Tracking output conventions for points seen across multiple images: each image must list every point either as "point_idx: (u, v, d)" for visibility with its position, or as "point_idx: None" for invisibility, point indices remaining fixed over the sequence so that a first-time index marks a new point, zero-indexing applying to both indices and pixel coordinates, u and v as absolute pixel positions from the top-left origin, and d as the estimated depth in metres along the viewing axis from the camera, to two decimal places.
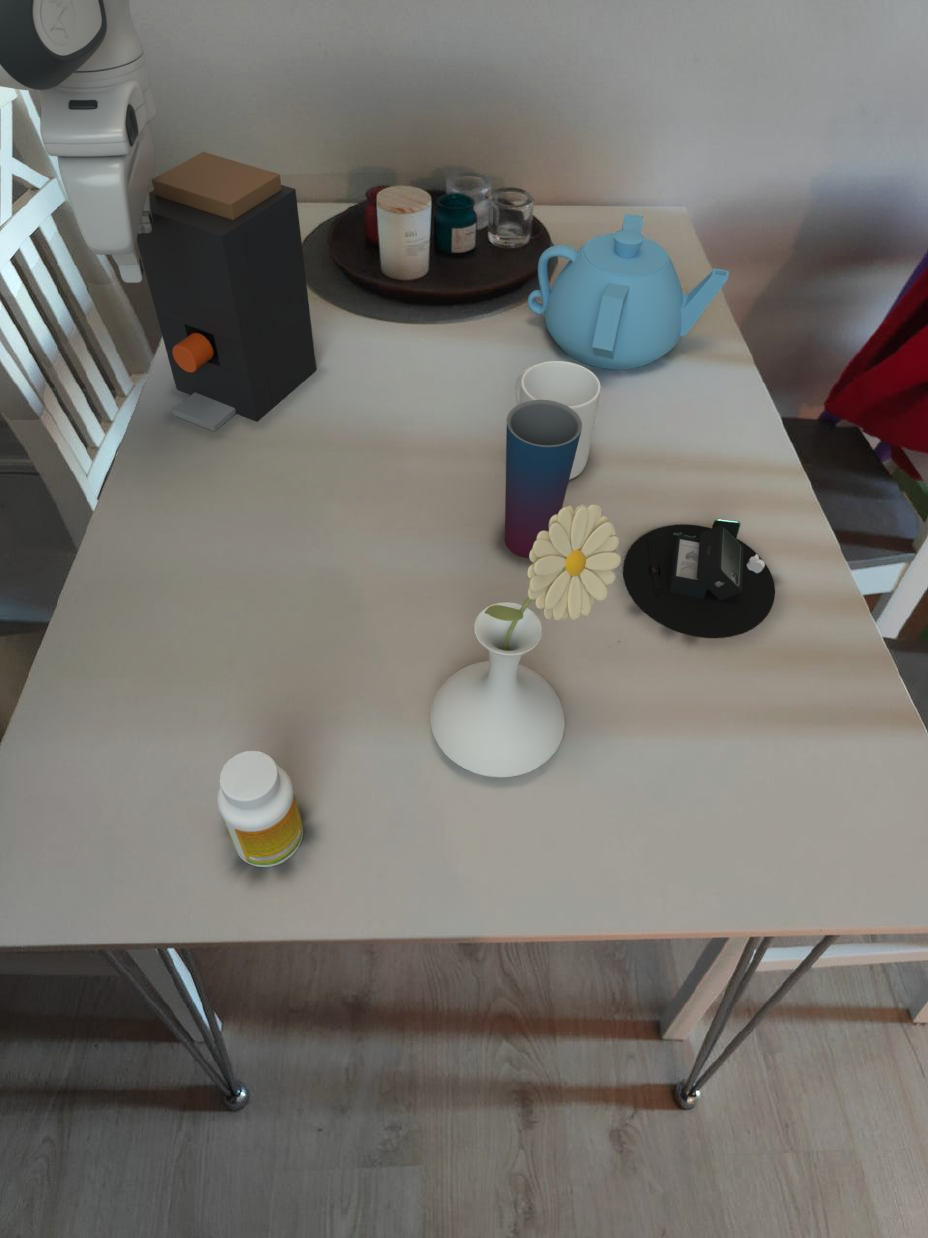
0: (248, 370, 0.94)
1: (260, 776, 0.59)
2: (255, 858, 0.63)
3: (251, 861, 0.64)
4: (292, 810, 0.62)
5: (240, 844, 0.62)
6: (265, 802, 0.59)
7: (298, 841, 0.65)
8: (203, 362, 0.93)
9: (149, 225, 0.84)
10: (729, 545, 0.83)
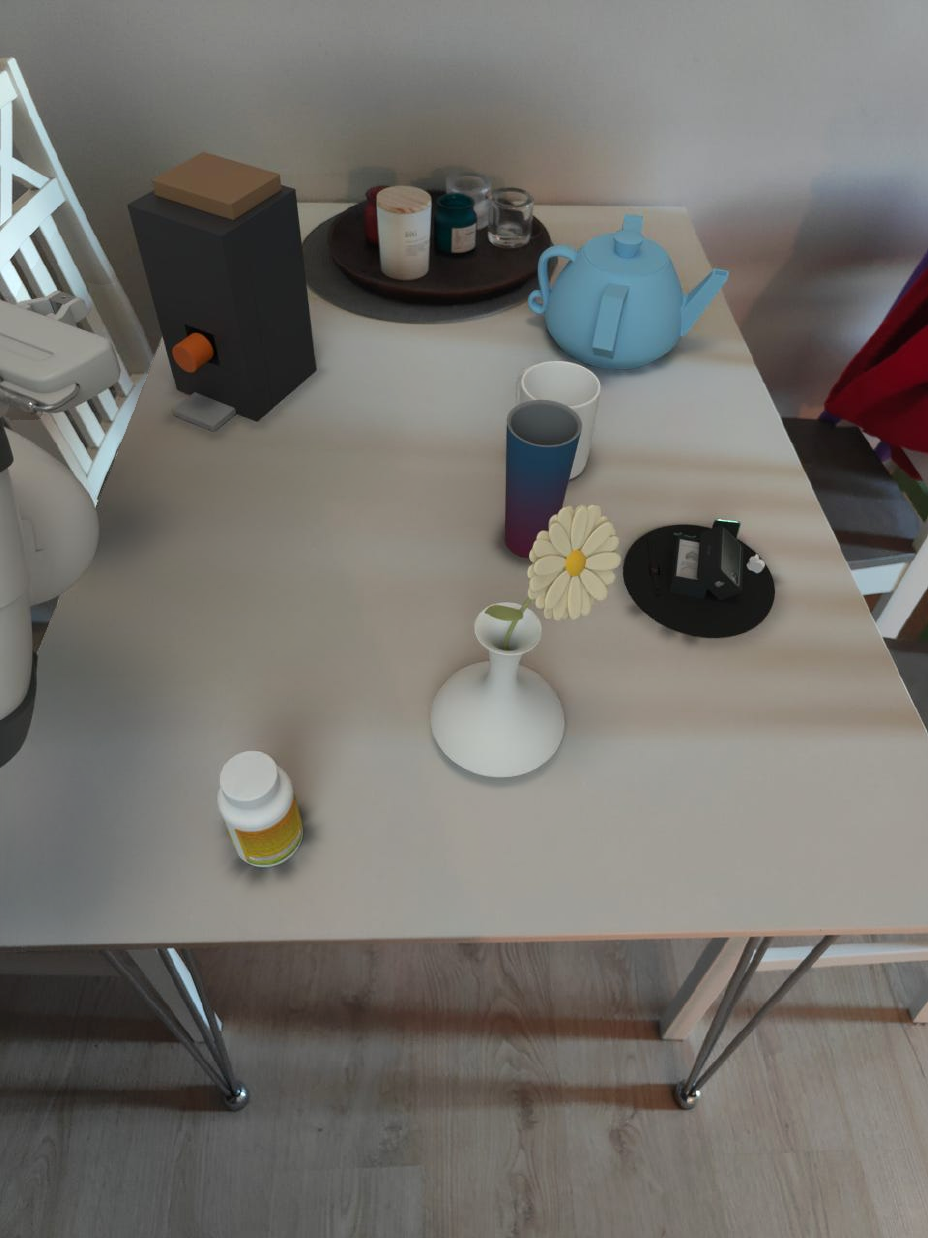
0: (248, 370, 0.94)
1: (260, 777, 0.59)
2: (255, 858, 0.63)
3: (251, 861, 0.64)
4: (292, 810, 0.62)
5: (240, 844, 0.62)
6: (265, 802, 0.59)
7: (298, 841, 0.65)
8: (203, 362, 0.93)
9: None
10: (729, 545, 0.83)
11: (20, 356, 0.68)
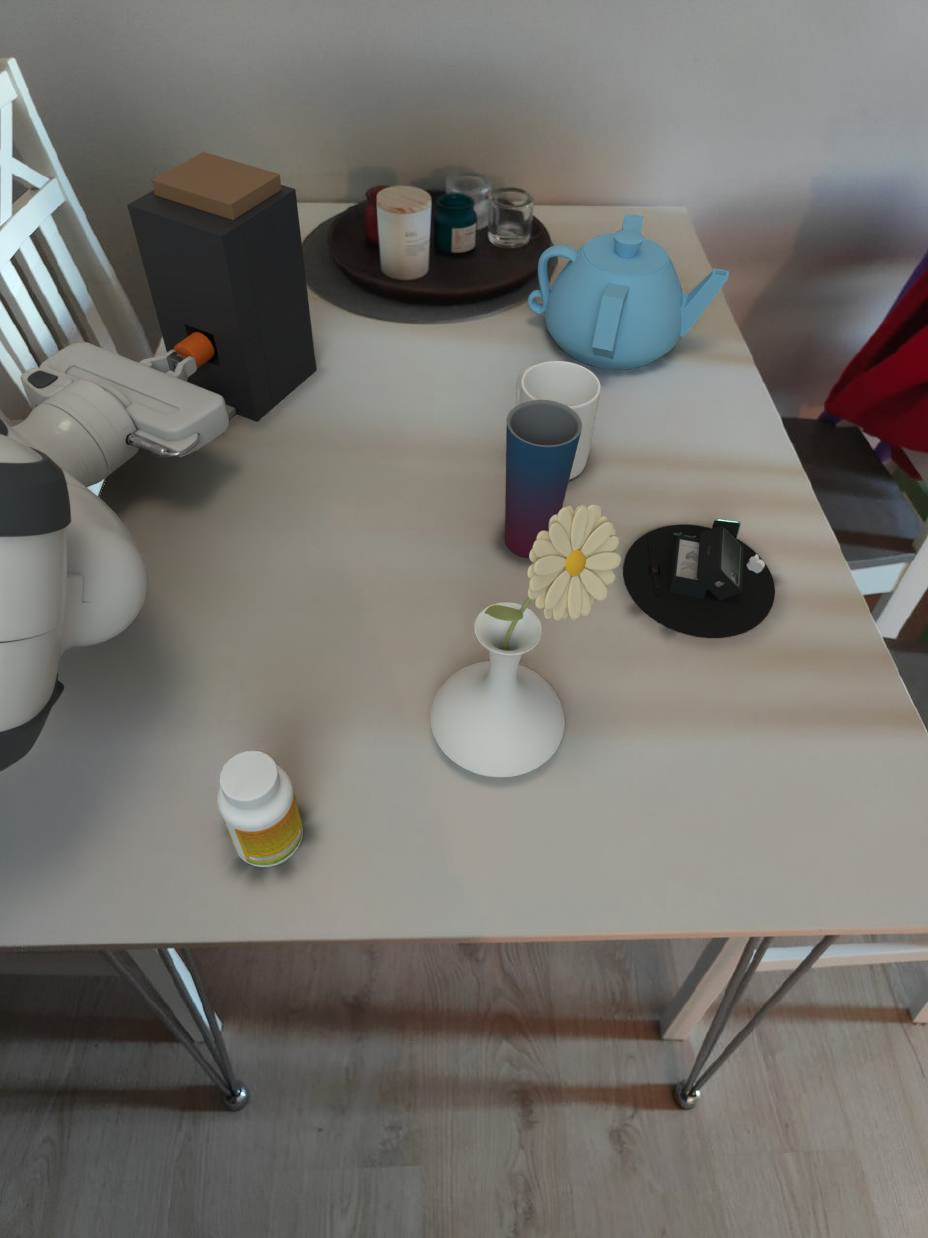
0: (248, 370, 0.94)
1: (260, 777, 0.59)
2: (255, 858, 0.63)
3: (251, 861, 0.64)
4: (292, 810, 0.62)
5: (240, 844, 0.62)
6: (265, 802, 0.59)
7: (298, 841, 0.65)
8: (204, 361, 0.94)
9: None
10: (729, 545, 0.83)
11: (152, 410, 0.84)
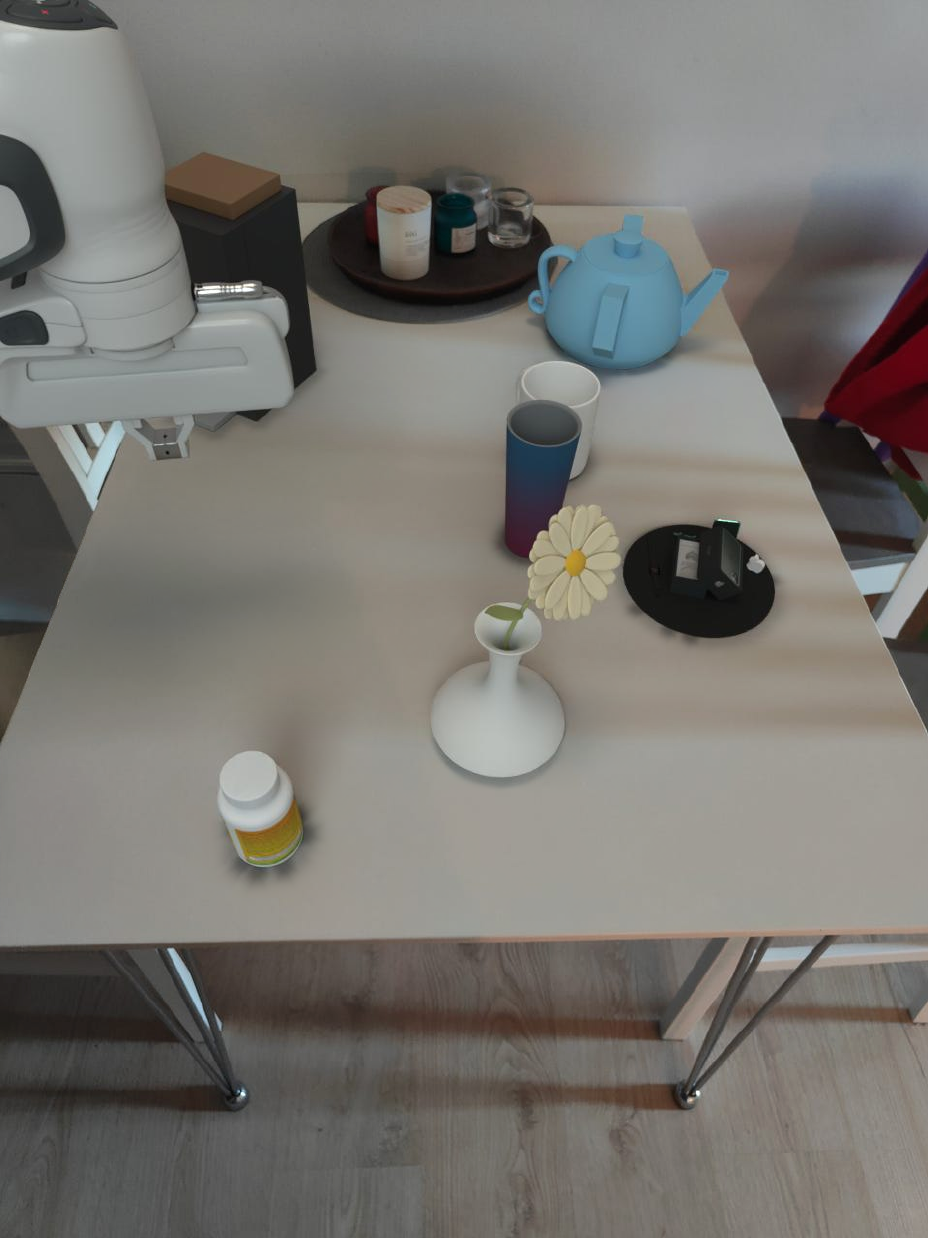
0: None
1: (260, 777, 0.59)
2: (255, 858, 0.63)
3: (251, 861, 0.64)
4: (292, 810, 0.62)
5: (240, 844, 0.62)
6: (265, 802, 0.59)
7: (298, 841, 0.65)
8: None
9: (170, 453, 0.65)
10: (729, 545, 0.83)
11: None
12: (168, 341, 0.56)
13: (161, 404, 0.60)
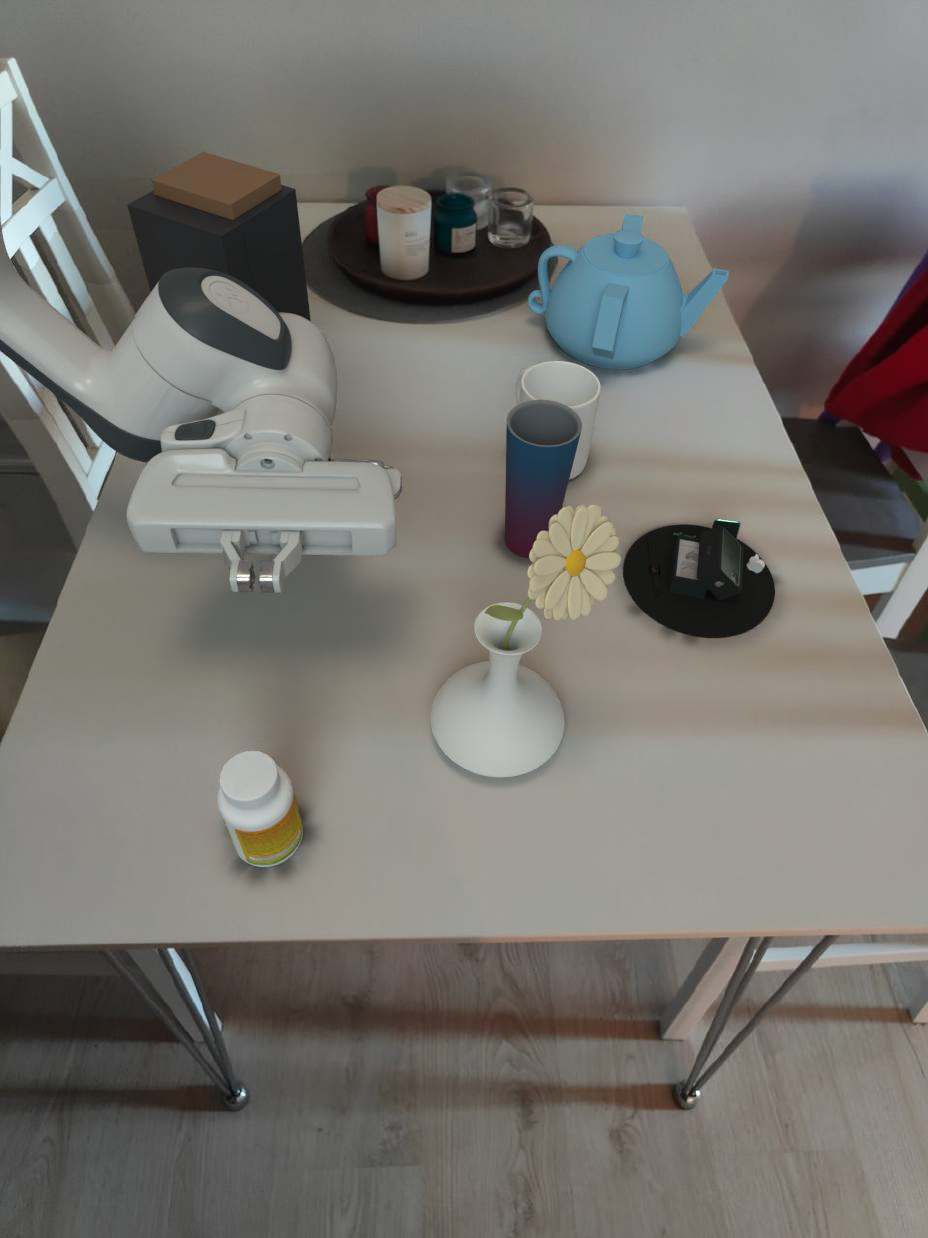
0: None
1: (260, 777, 0.59)
2: (255, 858, 0.63)
3: (251, 861, 0.64)
4: (292, 810, 0.62)
5: (240, 844, 0.62)
6: (265, 802, 0.59)
7: (298, 841, 0.65)
8: None
9: (262, 573, 0.61)
10: (729, 545, 0.83)
11: None
12: (299, 463, 0.67)
13: (272, 510, 0.64)
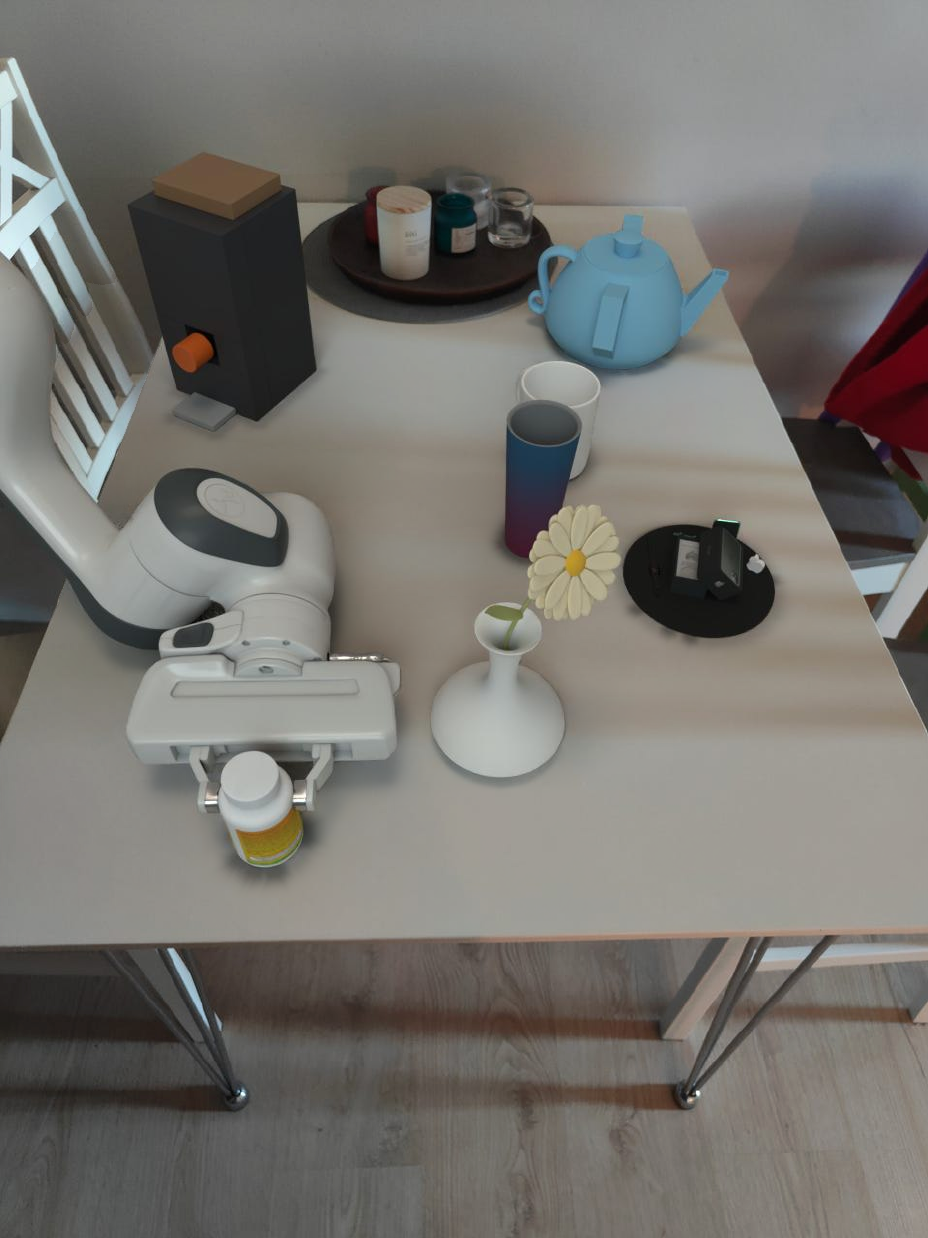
0: (248, 370, 0.94)
1: (261, 777, 0.59)
2: (255, 858, 0.63)
3: (251, 861, 0.64)
4: (293, 810, 0.62)
5: (241, 844, 0.62)
6: (266, 803, 0.59)
7: (298, 841, 0.65)
8: (203, 362, 0.93)
9: (295, 795, 0.61)
10: (729, 545, 0.83)
11: None
12: (298, 666, 0.67)
13: (271, 723, 0.64)
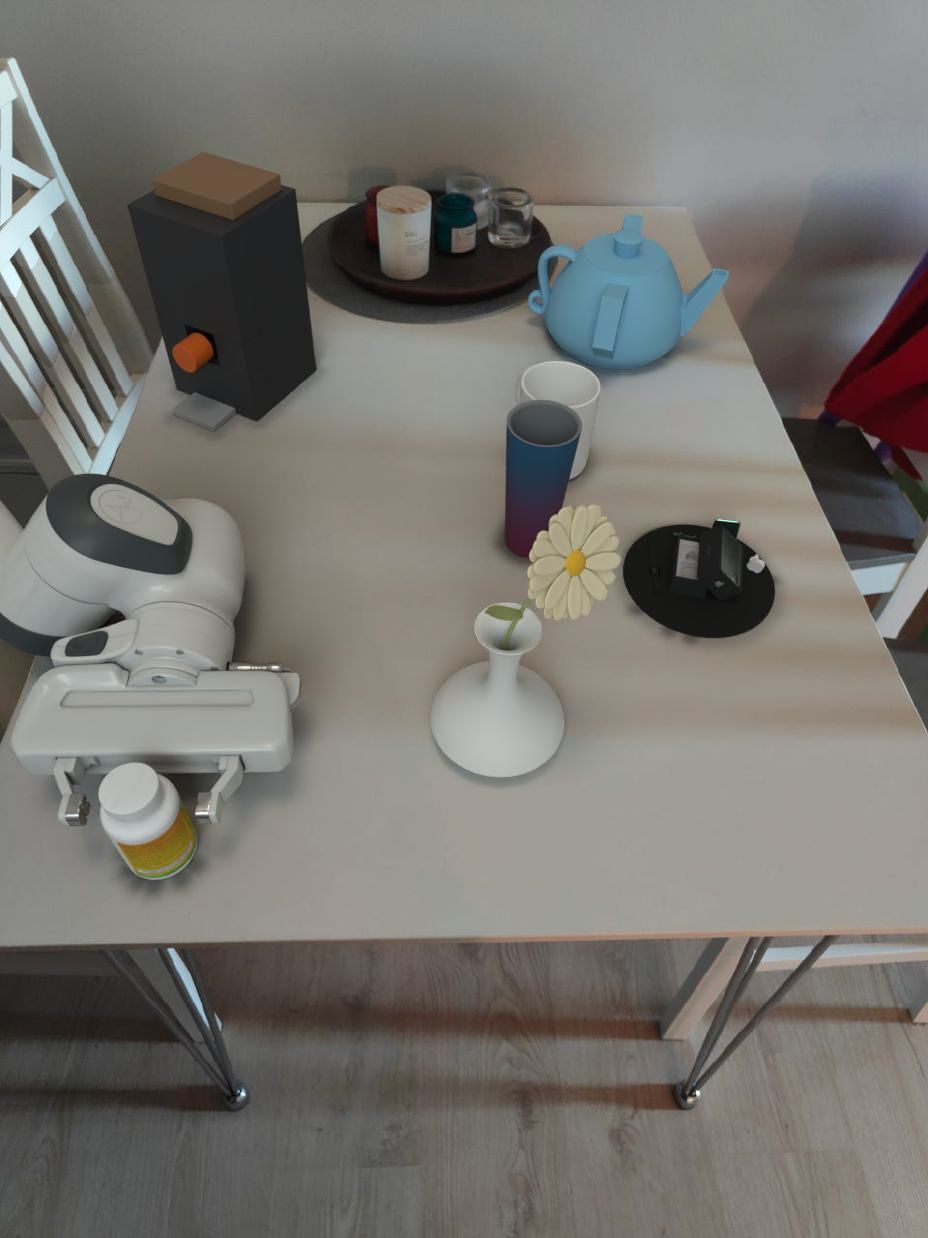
0: (248, 370, 0.94)
1: (140, 789, 0.58)
2: (143, 871, 0.62)
3: (140, 874, 0.63)
4: (178, 822, 0.61)
5: (126, 857, 0.61)
6: (144, 815, 0.58)
7: (190, 853, 0.64)
8: (203, 362, 0.93)
9: (198, 807, 0.60)
10: (729, 545, 0.83)
11: None
12: (193, 676, 0.66)
13: (160, 735, 0.63)
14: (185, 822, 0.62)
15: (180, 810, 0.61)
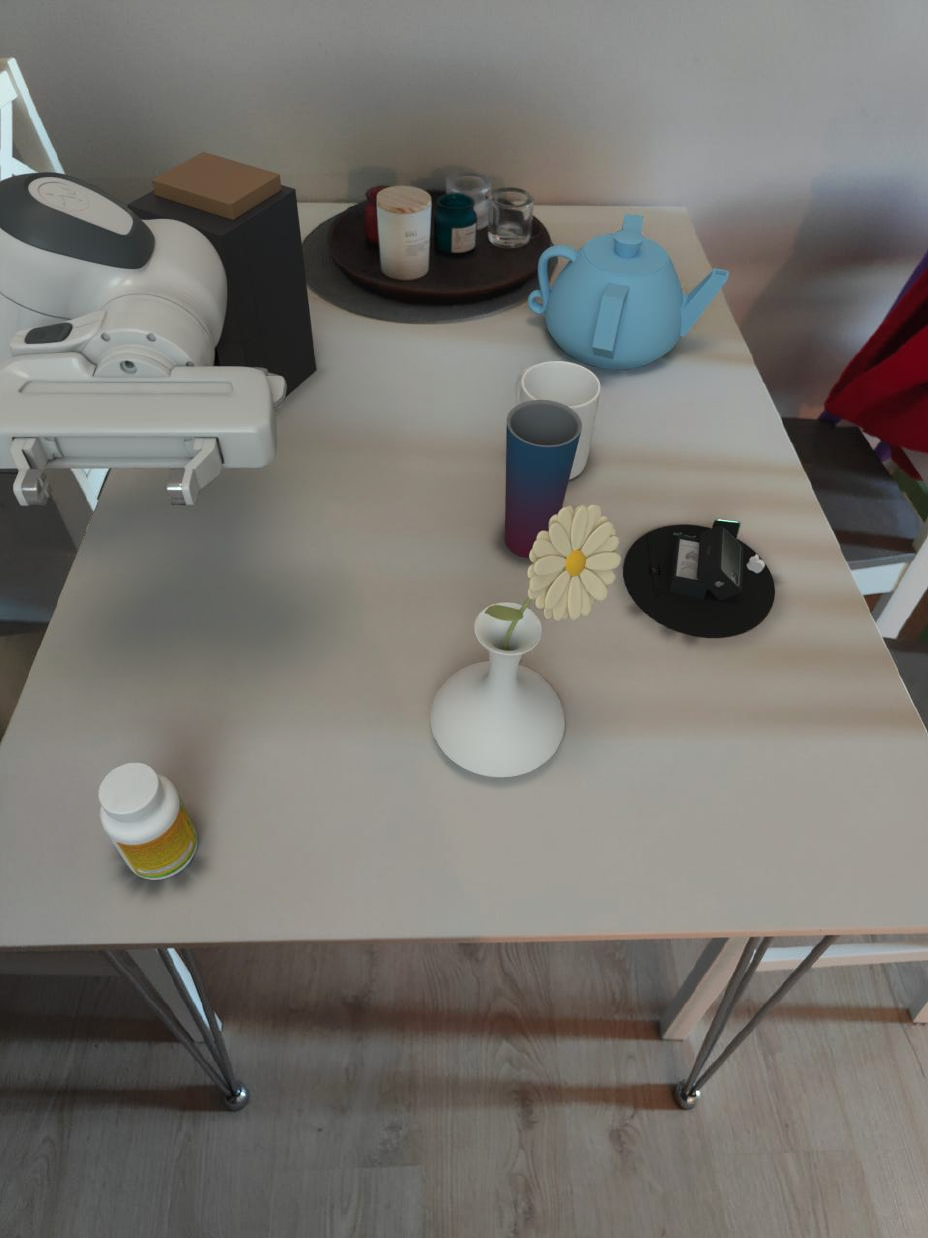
0: None
1: (140, 789, 0.58)
2: (143, 871, 0.62)
3: (140, 874, 0.63)
4: (178, 822, 0.61)
5: (126, 857, 0.61)
6: (144, 815, 0.58)
7: (190, 853, 0.64)
8: None
9: None
10: (729, 545, 0.83)
11: None
12: (166, 367, 0.60)
13: (128, 415, 0.56)
14: (185, 822, 0.62)
15: (180, 810, 0.61)
